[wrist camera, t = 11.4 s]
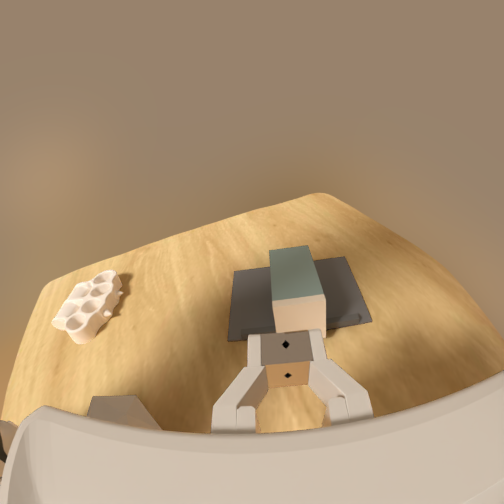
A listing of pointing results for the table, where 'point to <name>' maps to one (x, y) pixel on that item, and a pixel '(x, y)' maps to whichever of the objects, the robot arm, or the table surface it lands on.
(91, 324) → the white multi-hole holder
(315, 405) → the table surface
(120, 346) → the table surface
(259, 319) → the charcoal mat
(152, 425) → the die
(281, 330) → the block
